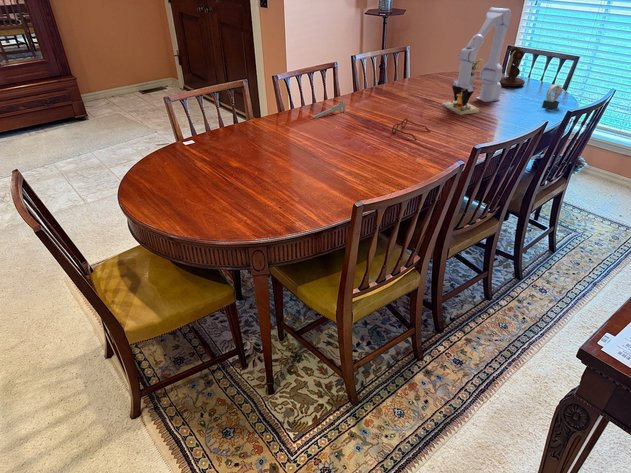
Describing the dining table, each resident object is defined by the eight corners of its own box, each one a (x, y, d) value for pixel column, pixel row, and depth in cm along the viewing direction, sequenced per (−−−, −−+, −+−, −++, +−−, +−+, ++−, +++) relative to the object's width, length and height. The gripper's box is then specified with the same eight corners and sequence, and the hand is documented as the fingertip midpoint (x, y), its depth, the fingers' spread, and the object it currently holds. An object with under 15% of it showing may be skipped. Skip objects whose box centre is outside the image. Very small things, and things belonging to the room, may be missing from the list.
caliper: (344, 112, 225) (344, 99, 222) (345, 112, 224) (345, 100, 221) (309, 119, 217) (309, 107, 213) (311, 120, 216) (310, 107, 213)
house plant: (484, 88, 249) (490, 58, 240) (460, 89, 250) (464, 59, 241) (477, 82, 261) (482, 53, 252) (454, 83, 262) (458, 54, 253)
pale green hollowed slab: (459, 102, 230) (460, 97, 228) (478, 112, 215) (479, 107, 214) (442, 104, 228) (442, 99, 226) (460, 115, 213) (461, 109, 212)
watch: (560, 107, 218) (566, 84, 211) (549, 110, 215) (555, 87, 208) (550, 104, 222) (556, 82, 216) (539, 107, 219) (545, 85, 213)
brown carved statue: (494, 82, 261) (501, 46, 249) (520, 82, 259) (528, 46, 247) (499, 88, 248) (506, 51, 237) (526, 88, 246) (535, 51, 235)
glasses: (405, 127, 204) (406, 116, 201) (430, 132, 197) (431, 121, 194) (390, 135, 195) (391, 124, 193) (416, 141, 188) (417, 130, 186)
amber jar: (461, 106, 224) (463, 92, 220) (466, 109, 220) (469, 94, 216) (453, 107, 223) (455, 93, 219) (458, 110, 219) (460, 95, 215)
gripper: (449, 72, 217) (446, 99, 225) (465, 79, 206) (461, 107, 213) (462, 70, 219) (458, 97, 226) (478, 77, 207) (473, 105, 215)
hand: (460, 102), depth 220 cm, fingers open, 7 cm apart
